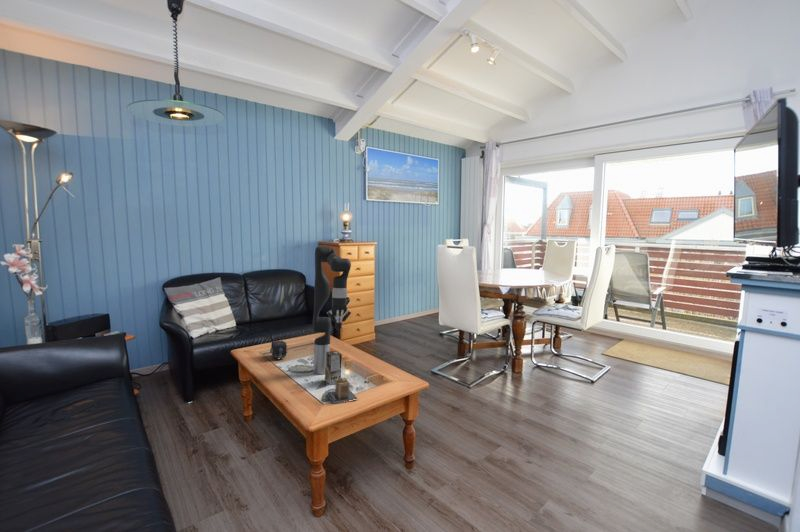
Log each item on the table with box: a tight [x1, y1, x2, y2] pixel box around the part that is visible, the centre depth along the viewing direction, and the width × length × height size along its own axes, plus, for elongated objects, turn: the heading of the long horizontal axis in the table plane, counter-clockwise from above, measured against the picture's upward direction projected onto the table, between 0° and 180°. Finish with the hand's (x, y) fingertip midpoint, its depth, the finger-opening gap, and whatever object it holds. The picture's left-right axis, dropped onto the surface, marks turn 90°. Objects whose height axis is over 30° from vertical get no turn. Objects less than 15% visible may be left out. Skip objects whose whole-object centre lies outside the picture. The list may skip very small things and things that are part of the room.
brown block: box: [334, 376, 350, 399], centre depth 181 cm, size 7×5×8 cm
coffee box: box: [324, 350, 343, 386], centre depth 203 cm, size 9×6×16 cm
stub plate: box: [326, 389, 358, 405], centre depth 181 cm, size 12×12×7 cm
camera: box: [269, 340, 288, 359], centre depth 244 cm, size 11×11×15 cm
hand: (338, 329), depth 190 cm, fingers closed
